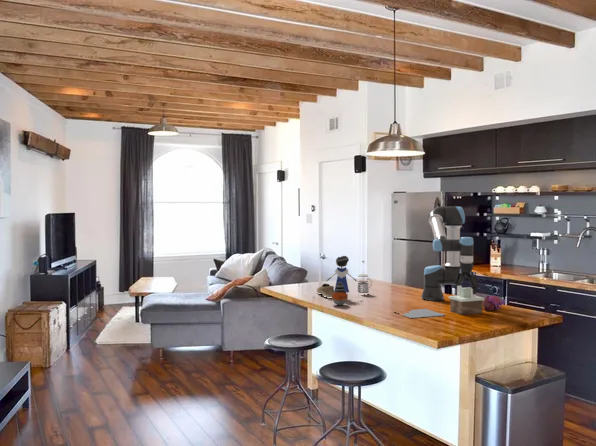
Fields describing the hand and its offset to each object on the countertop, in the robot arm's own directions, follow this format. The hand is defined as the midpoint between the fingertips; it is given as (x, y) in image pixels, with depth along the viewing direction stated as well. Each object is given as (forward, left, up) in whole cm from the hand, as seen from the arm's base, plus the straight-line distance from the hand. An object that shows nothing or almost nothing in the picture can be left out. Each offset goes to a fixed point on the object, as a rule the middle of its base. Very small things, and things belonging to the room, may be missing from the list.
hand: (466, 297), depth 312 cm
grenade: (-48, -62, -9) cm, 79 cm away
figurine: (-71, -50, -9) cm, 87 cm away
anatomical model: (-1, +20, -9) cm, 22 cm away
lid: (0, 0, -1) cm, 1 cm away
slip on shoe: (-88, -55, -9) cm, 104 cm away
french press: (-81, -27, -9) cm, 86 cm away
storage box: (0, 0, -9) cm, 9 cm away
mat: (-6, -30, -9) cm, 32 cm away
